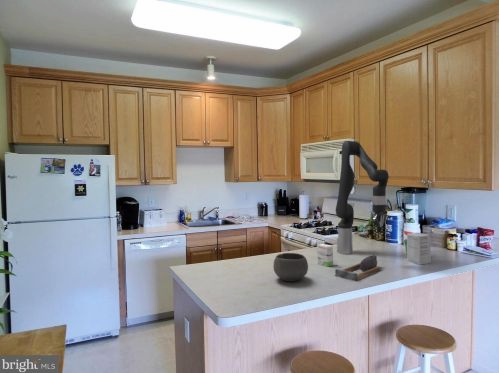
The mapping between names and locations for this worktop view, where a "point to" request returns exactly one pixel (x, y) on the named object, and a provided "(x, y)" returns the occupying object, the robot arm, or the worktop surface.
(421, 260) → the supplement box
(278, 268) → the bowl
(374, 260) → the perforated stone tool
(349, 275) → the channel
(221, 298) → the worktop surface
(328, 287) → the worktop surface
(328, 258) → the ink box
